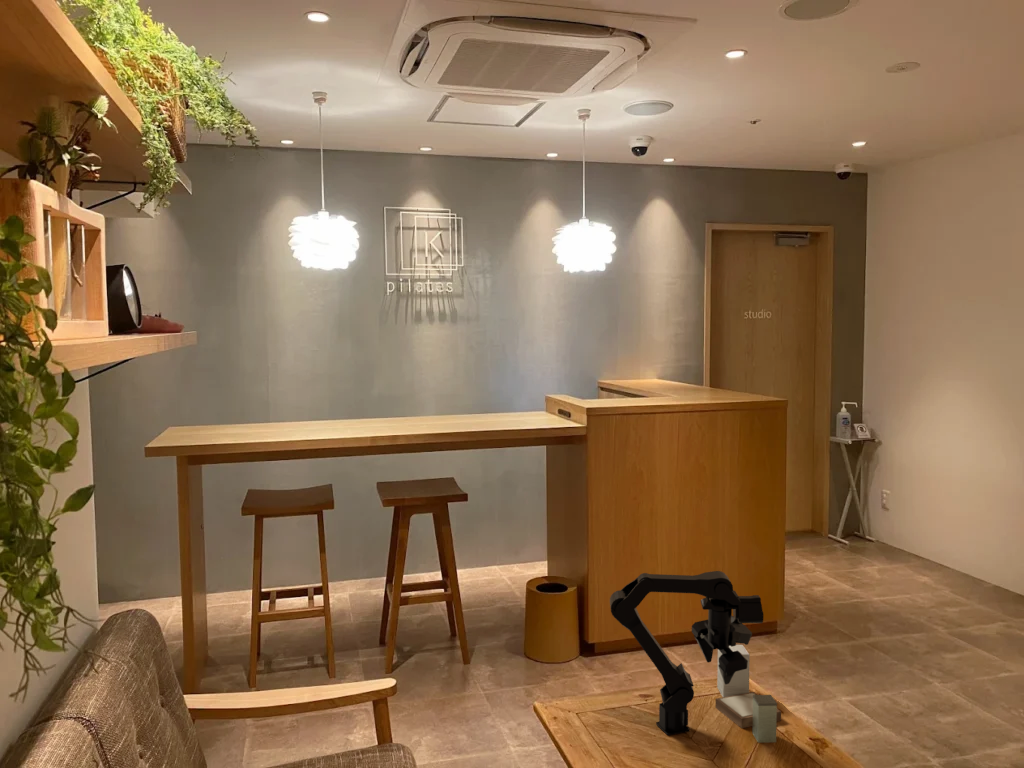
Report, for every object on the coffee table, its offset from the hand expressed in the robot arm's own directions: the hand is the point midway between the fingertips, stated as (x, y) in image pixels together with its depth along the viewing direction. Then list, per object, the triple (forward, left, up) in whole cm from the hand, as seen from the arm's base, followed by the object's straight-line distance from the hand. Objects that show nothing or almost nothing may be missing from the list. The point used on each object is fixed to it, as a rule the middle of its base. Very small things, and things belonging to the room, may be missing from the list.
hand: (717, 672), depth 214 cm
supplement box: (+13, +12, -13) cm, 22 cm away
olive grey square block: (+6, -12, -13) cm, 18 cm away
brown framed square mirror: (+10, 0, -13) cm, 16 cm away
